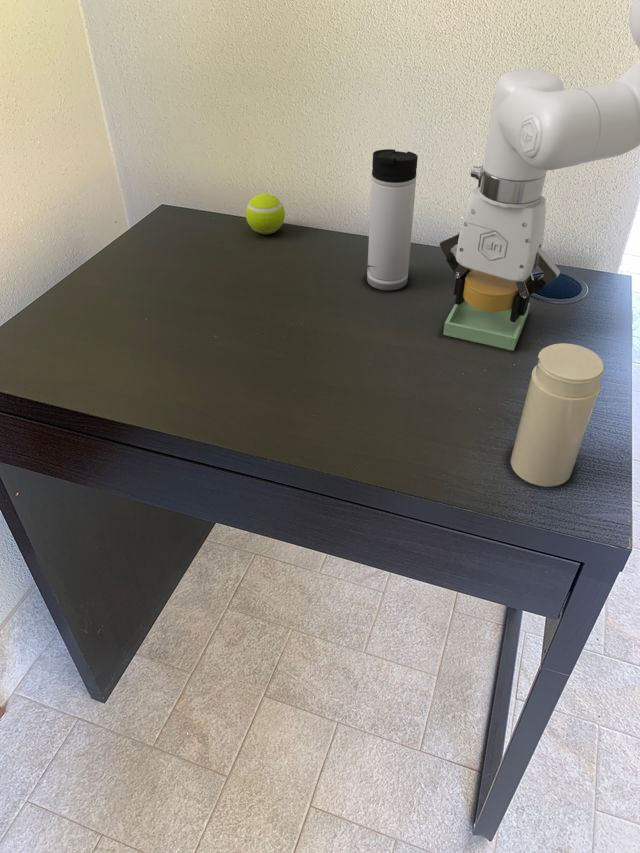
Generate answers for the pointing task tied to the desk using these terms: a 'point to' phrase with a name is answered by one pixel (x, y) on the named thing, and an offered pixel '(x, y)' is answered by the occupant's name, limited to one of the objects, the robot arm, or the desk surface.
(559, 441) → the jar
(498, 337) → the tray
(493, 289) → the lid
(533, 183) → the robot arm
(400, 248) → the travel mug
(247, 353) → the desk surface
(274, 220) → the tennis ball
